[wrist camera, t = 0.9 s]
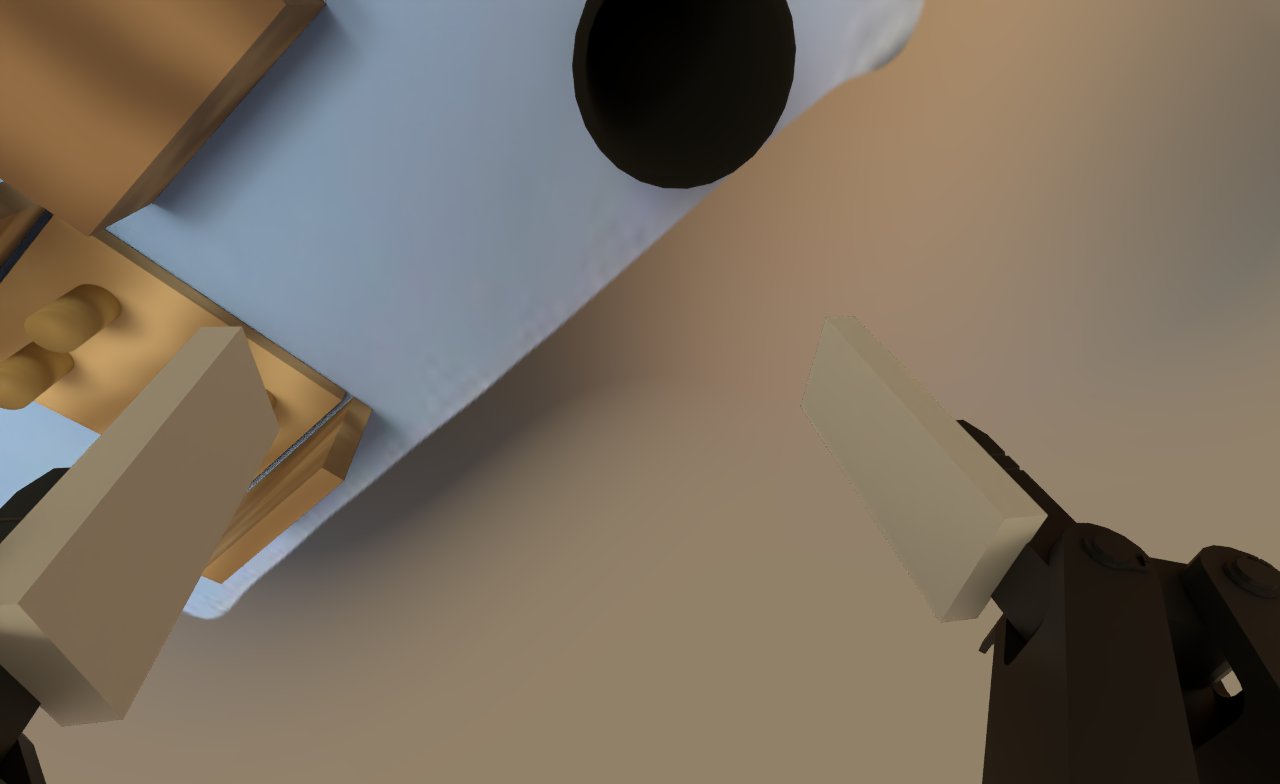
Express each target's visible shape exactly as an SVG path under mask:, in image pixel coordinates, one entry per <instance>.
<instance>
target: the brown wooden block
mask: <svg viewBox="0 0 1280 784" xmlns="http://www.w3.org/2000/svg"><path fill="white" fill-rule="evenodd" d="M325 5H326V3H325V2H324V1H323V0H0V179H2V180H3V181H5V182H6V183H8V184H9V185H11V186H12V187H14V188H15V189H17V190H18V191H20V192H21V193H23V194H24V195H25V196H27V197H28V198H30V199H31V200H33V201H34V202H36V203H37V204H39V205H40V206H42V207H43V208H45V209H46V210H48V211H49V212H51V213H52V214H54V215H55V216H57V217H58V218H60V219H61V220H63V221H64V222H66V223H67V224H69V225H70V226H72V227H73V228H75V229H76V230H78V231H79V232H81V233H82V234H84V235H85V236H87V237H89V236H91V235H93V234H95V233H97V232H99V231H100V230H102V229H104V228H106V227H108V226H110V225H112V224H114V223H115V222H117V221H119V220H121V219H123V218H125V217H127V216H129V215H130V214H132V213H134V212H136V211H138V210H140V209H142V208H144V207H146V206H147V205H149V204H151V203H153V201H154V200H155V199H156V198H157V197H158V196H159V195H160V193H161V192H162V191H163V190H164V189H165V188H166V187H167V185H168V184H169V183H170V182H171V181H172V180H173V179H174V177H175V176H176V175H177V174H178V173H179V172H180V171H181V169H182V168H183V167H184V166H185V165H186V164H187V163H188V161H189V160H190V159H191V158H192V157H193V156H194V155H195V153H196V152H197V151H198V150H199V149H200V148H201V147H202V145H203V144H204V143H205V142H206V141H207V140H208V139H209V137H210V136H211V135H212V134H213V133H214V132H215V131H216V129H217V128H218V127H219V126H220V125H221V124H222V123H223V121H224V120H225V119H226V118H227V117H228V116H229V115H230V113H231V112H232V111H233V110H234V109H235V108H236V107H237V105H238V104H239V103H240V102H241V101H242V100H243V99H244V97H245V96H246V95H247V94H248V93H249V92H250V91H251V89H252V88H253V87H254V86H255V85H256V84H257V83H258V81H259V80H260V79H261V78H262V77H263V76H264V75H265V73H266V72H267V71H268V70H269V69H270V68H271V67H272V66H273V64H274V63H275V62H276V61H277V60H278V59H279V58H280V56H281V55H282V54H283V53H284V52H285V51H286V50H287V48H288V47H289V46H290V45H291V44H292V43H293V42H294V40H295V39H296V38H297V37H298V36H299V35H300V34H301V32H302V31H303V30H304V29H305V28H306V27H307V26H308V24H309V23H310V22H311V21H312V20H313V19H314V18H315V16H316V15H317V14H318V13H319V12H320V11H321V10H322V8H323V7H324V6H325Z"/></svg>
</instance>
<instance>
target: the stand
mask: <svg viewBox="0 0 1280 784" xmlns="http://www.w3.org/2000/svg"><path fill="white" fill-rule="evenodd" d="M45 210H46V209H45V208H43V207H42V206H40V205H39V204H37V203H36V202H34V201H33V200H31V199H30V198H28V197H27V196H25V195H24V194H23V193H21V192H20V191H18V190H17V189H15V188H14V187H12V186H11V185H9V184H8V183H6V182H5V181H4V182H1V183H0V269H1V268H2V266H3V265H4V264H5V262H6V261H7V260H8V258H9V257H10V256H11V255H12V253H13V252H14V251H15V249H16V248H17V247H18V245H19V244H20V243H21V242H22V240H23V239H24V238H25V236H26V235H27V234H28V232H29V231H30V230H31V229H32V227H33V226H34V225H35V223H36V222H37V221H38V220H39V218H40V217H41V216H42V214H43V213H44V212H45ZM237 326H242V328H243V330H244V333H245V336H246V338H247V341H248V344H249V346H250V349H251V352H252V354H253V357H254V360H255V363H256V365H257V368H258V371H259V373H260V376H261V379H262V381H263V384H264V387H265V389H266V392H267V395H268V397H269V400H270V403H271V405H272V408H273V411H274V413H275V416H276V419H277V421H278V424H279V427H280V431H279V433H278V435H277V436H276V438H275V440H274V442H273V444H272V446H271V448H270V449H269V451H268V453H267V455H266V457H265V459H264V460H263V462H262V464H261V466H260V468H259V470H258V472H257V473H256V475H255V477H254V479H255V478H256V477H257V476H258V475H259V474H261V473H262V472H263V471H264V470H265V469H266V468H267V467H268V466H269V465H271V464H272V463H273V462H274V461H275V460H276V459H277V458H278V457H279V456H281V455H282V454H283V453H284V452H285V451H286V450H287V449H288V448H289V447H291V446H292V445H293V444H294V443H295V442H296V441H297V440H298V439H299V438H301V437H302V436H303V435H304V434H305V433H306V432H307V431H308V430H309V429H311V428H312V427H313V426H314V425H315V424H316V423H317V422H318V421H319V420H321V419H322V418H323V417H324V416H325V415H326V414H327V413H328V412H329V411H331V410H332V409H333V408H334V407H335V406H336V405H337V404H338V403H340V402H341V401H342V399H343V397H344V395H345V393H346V391H344V390H343V389H341V388H340V387H338V386H337V385H335V384H334V383H332V382H331V381H329V380H328V379H326V378H325V377H323V376H322V375H320V374H319V373H317V372H316V371H314V370H313V369H312V368H310V367H309V366H307V365H306V364H304V363H303V362H301V361H300V360H298V359H297V358H295V357H294V356H292V355H291V354H289V353H288V352H286V351H285V350H283V349H282V348H280V347H279V346H277V345H276V344H274V343H273V342H271V341H270V340H268V339H267V338H265V337H264V336H262V335H261V334H259V333H258V332H256V331H255V330H254V329H252V328H251V327H249V326H248V325H246V324H245V323H243V322H242V321H240V320H239V319H237V318H236V317H234V316H233V315H231V314H230V313H228V312H227V311H225V310H224V309H222V308H221V307H219V306H218V305H216V304H215V303H213V302H212V301H210V300H209V299H207V298H206V297H204V296H203V295H201V294H200V293H199V292H197V291H196V290H194V289H193V288H191V287H190V286H188V285H187V284H185V283H184V282H182V281H181V280H179V279H178V278H176V277H175V276H173V275H172V274H170V273H169V272H167V271H166V270H164V269H163V268H161V267H160V266H158V265H157V264H155V263H154V262H152V261H151V260H149V259H148V258H146V257H145V256H144V255H142V254H141V253H139V252H138V251H136V250H135V249H133V248H132V247H130V246H129V245H127V244H126V243H124V242H123V241H121V240H120V239H118V238H117V237H115V236H114V235H112V234H111V233H109V232H108V231H106V230H105V229H102V230H100V231H99V232H97V233H95V234H93V235H91V236H89V237H87V236H85V235H84V234H82V233H81V232H79V231H78V230H76V229H75V228H73V227H72V226H70V225H69V224H67V223H66V222H64V221H63V220H61V219H60V218H58V217H57V216H55V215H53V216H52V218H51V219H50V220H49V222H48V223H47V224H46V225H45V227H44V228H43V229H42V231H41V232H40V233H39V234H38V236H37V237H36V238H35V240H34V241H33V242H32V243H31V245H30V246H29V247H28V249H27V250H26V251H25V252H24V254H23V255H22V256H21V258H20V259H19V260H18V261H17V263H16V264H15V265H14V267H13V268H12V269H11V270H10V272H9V273H8V274H7V276H6V277H5V278H4V279H3V281H2V282H1V283H0V408H4V409H10V410H17V409H22V408H24V407H26V406H27V405H28V404H30V403H31V402H32V401H35V402H37V403H39V404H41V405H43V406H45V407H47V408H49V409H51V410H53V411H55V412H57V413H59V414H61V415H63V416H65V417H67V418H69V419H71V420H73V421H75V422H77V423H79V424H81V425H83V426H85V427H87V428H89V429H91V430H93V431H95V432H97V433H99V434H101V435H102V433H103V432H104V431H105V430H106V429H107V428H108V427H109V426H110V425H111V424H112V423H113V422H114V421H115V419H116V418H117V417H118V416H119V415H120V414H121V413H122V412H123V411H124V410H125V409H126V408H127V407H128V405H129V404H130V403H131V402H132V401H133V400H134V399H135V398H136V397H137V396H138V395H139V394H140V392H141V391H142V390H143V389H144V388H145V387H146V386H147V385H148V384H149V383H150V382H151V381H152V380H153V378H154V377H155V376H156V375H157V374H158V373H159V372H160V371H161V370H162V369H163V368H164V367H165V366H166V364H167V363H168V362H169V361H170V360H171V359H172V358H173V357H174V356H175V355H176V354H177V353H178V351H179V350H180V349H181V348H182V347H183V346H184V345H185V344H186V343H187V342H188V341H189V340H190V339H191V337H192V336H193V335H194V334H195V333H196V332H197V331H198V330H199V329H200V328H201V327H237ZM371 411H372V409H371V408H369V407H368V406H367V405H365V404H364V403H362V402H361V401H359V400H358V399H356V398H355V397H354V398H352V399H351V400H350V401H349V402H348V403H347V404H346V405H345V406H343V407H342V408H341V409H340V410H339V411H338V412H337V413H336V414H335V415H333V416H332V417H331V418H330V419H329V420H328V421H327V422H326V423H324V424H323V425H322V426H321V427H320V428H319V429H318V430H317V431H316V432H314V433H313V434H312V435H311V436H310V437H309V438H308V439H307V440H305V441H304V442H303V443H302V444H301V445H300V446H299V447H298V448H296V449H295V450H294V451H293V452H292V453H291V454H290V455H289V456H288V457H286V458H285V459H284V460H283V461H282V462H281V463H280V464H279V465H277V466H276V467H275V468H274V469H273V470H272V471H271V472H270V473H269V474H267V475H266V476H265V477H264V478H263V479H262V480H261V481H260V482H258V483H257V484H256V485H255V486H254V487H253V488H252V489H251V490H249V491H248V492H247V493H246V494H245V496H244V497H243V499H242V501H241V503H240V505H239V507H238V508H237V510H236V512H235V514H234V516H233V518H232V520H231V521H230V523H229V525H228V527H227V529H226V531H225V532H224V534H223V536H222V538H221V540H220V542H219V544H218V545H217V547H216V549H215V551H214V553H213V555H212V556H211V558H210V560H209V562H208V564H207V566H206V568H205V569H204V571H203V573H202V575H201V576H203V577H206V578H208V579H210V580H213V581H215V582H218V583H220V584H222V583H223V582H224V581H225V580H227V579H228V578H229V577H230V576H231V575H232V574H234V573H235V572H236V571H237V570H238V569H240V568H241V567H242V566H243V565H244V564H246V563H247V562H248V561H249V560H250V559H251V558H253V557H254V556H255V555H256V554H257V553H259V552H260V551H261V550H262V549H263V548H265V547H266V546H267V545H268V544H269V543H270V542H272V541H273V540H274V539H275V538H276V537H278V536H279V535H280V534H281V533H282V532H284V531H285V530H286V529H287V528H288V527H289V526H291V525H292V524H293V523H294V522H295V521H297V520H298V519H299V518H300V517H301V516H303V515H304V514H305V513H306V512H307V511H308V510H310V509H311V508H312V507H313V506H314V505H316V504H317V503H318V502H319V501H320V500H322V499H323V498H324V497H325V496H326V495H327V494H329V493H330V492H331V491H332V490H333V489H335V488H336V487H337V486H338V485H339V484H341V483H342V482H343V481H344V479H345V477H346V474H347V472H348V469H349V467H350V464H351V462H352V459H353V457H354V454H355V452H356V449H357V447H358V444H359V441H360V439H361V436H362V434H363V431H364V429H365V426H366V424H367V421H368V419H369V416H370V414H371ZM254 479H253V480H254Z"/></svg>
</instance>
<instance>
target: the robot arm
mask: <svg viewBox="0 0 1280 784" xmlns="http://www.w3.org/2000/svg"><path fill="white" fill-rule="evenodd" d="M801 408H802V409H803V411H804V412H805V414H806V415H807V417H808V418H809V420H810V422H811V423H812V425H813V426H814V428H815V429H816V431H817V432H818V434H819V436H820V437H821V439H822V440H823V442H824V443H825V445H826V447H827V448H828V450H829V451H830V452H831V454H832V456H833V457H834V459H835V460H836V462H837V464H838V465H839V467H840V468H841V470H842V471H843V473H844V474H845V476H846V478H847V479H848V481H849V482H850V484H851V485H852V487H853V488H854V490H855V492H856V493H857V495H858V496H859V498H860V499H861V501H862V502H863V504H864V505H865V507H866V509H867V510H868V512H869V513H870V515H871V516H872V518H873V519H874V521H875V523H876V524H877V526H878V527H879V529H880V530H881V532H882V533H883V535H884V537H885V538H886V540H887V541H888V543H889V544H890V546H891V547H892V549H893V550H894V552H895V554H896V555H897V557H898V558H899V560H900V561H901V563H902V564H903V566H904V568H905V569H906V571H907V572H908V574H909V575H910V577H911V578H912V580H913V582H914V583H915V585H916V586H917V588H918V589H919V591H920V592H921V594H922V595H923V597H924V599H925V600H926V601H927V603H928V605H929V606H930V608H931V609H932V611H933V613H934V614H935V616H936V617H937V619H938V620H939V622H940V623H942V622H950V621H958V620H967V619H976V618H978V616H979V615H980V613H981V612H982V610H983V609H984V608H985V606H986V605H987V603H988V602H989V600H990V599H991V597H992V599H993V600H994V601H995V602H996V604H997V605H998V607H999V608H1000V609H1001V611H1002V612H1003V614H1002V616H1001V617H1000V619H999V620H998V621H997V623H996V624H995V626H994V627H993V628H992V630H991V631H990V633H989V634H988V635H987V637H986V638H985V639H984V641H983V642H982V644H981V646H980V649H979V651H980V652H982V653H984V654H985V653H986V652H987V651H988V649H989V648H990V647H991V645H993V644H994V655H993V665H992V678H991V689H990V700H989V711H988V724H987V734H986V747H985V757H984V768H983V781H982V784H1280V571H1278V570H1277V569H1275V568H1274V567H1273V566H1272V565H1270V564H1269V563H1267V562H1266V561H1264V560H1262V559H1258V557H1255V556H1253V555H1251V554H1248V553H1245V552H1242V551H1239V550H1236V549H1234V548H1230V547H1224V546H1215V545H1213V546H1209V547H1206V548H1203V549H1202V550H1201V551H1200V552H1199V553H1198V554H1197V555H1196V556H1195V557H1194V558H1193V559H1192V560H1191V561H1190V562H1189V563H1188V564H1183V563H1178V562H1173V561H1167V560H1162V559H1156V558H1151V557H1149V556H1148V555H1147V554H1146V553H1145V552H1144V551H1143V550H1142V549H1141V548H1140V547H1139V546H1137V545H1136V544H1134V543H1133V542H1132V541H1130V540H1129V539H1127V538H1126V537H1125V536H1122V535H1121V534H1119V533H1116V532H1114V531H1112V530H1110V529H1108V528H1105V527H1102V526H1098V525H1094V524H1091V523H1076V522H1075V521H1074V520H1073V519H1072V518H1071V517H1070V516H1069V515H1068V514H1067V513H1066V512H1065V511H1064V510H1063V509H1062V508H1061V507H1060V506H1059V505H1058V504H1057V503H1056V502H1055V501H1054V500H1053V499H1052V498H1051V497H1050V496H1049V495H1048V494H1047V493H1046V492H1045V491H1044V490H1043V489H1042V488H1041V487H1040V486H1039V485H1038V484H1037V483H1036V482H1035V481H1034V480H1033V479H1031V478H1030V476H1029V475H1028V474H1027V473H1026V472H1025V471H1023V470H1020V469H1019V465H1017V464H1016V463H1015V462H1014V461H1013V460H1012V459H1011V458H1010V457H1009V456H1005V452H1004V451H1003V450H1002V449H1001V448H1000V447H999V446H998V445H997V444H996V443H995V442H994V441H993V440H992V439H991V438H990V437H989V436H988V435H987V434H985V433H984V432H982V431H981V430H979V429H977V428H976V427H974V426H972V425H971V424H969V423H968V422H966V421H964V420H955V419H954V418H953V417H952V416H951V415H950V414H949V413H948V412H947V411H946V410H945V409H944V408H943V407H942V406H941V405H940V404H939V403H938V402H937V401H936V400H935V399H934V398H933V397H932V396H931V395H930V394H929V393H928V392H927V391H926V389H925V388H923V386H922V385H921V384H920V383H919V382H918V381H917V380H916V379H915V378H914V377H913V376H912V375H911V374H910V373H909V372H908V371H907V370H906V369H905V368H904V367H903V366H902V365H901V364H900V363H899V362H898V361H897V360H896V359H895V358H894V357H893V356H892V355H891V354H890V353H889V351H887V349H885V348H884V346H883V345H882V344H881V343H880V342H879V341H878V340H877V339H876V338H875V337H874V336H873V335H872V334H871V333H870V332H869V331H868V330H867V329H866V328H865V327H864V326H863V325H862V324H861V323H860V322H859V321H858V320H857V319H856V318H855V317H826V319H825V322H824V326H823V330H822V333H821V336H820V340H819V343H818V347H817V351H816V354H815V357H814V361H813V364H812V368H811V371H810V375H809V378H808V382H807V385H806V389H805V392H804V396H803V399H802V403H801ZM279 431H280V427H279V424H278V421H277V419H276V416H275V413H274V411H273V408H272V405H271V403H270V400H269V397H268V395H267V392H266V389H265V387H264V384H263V381H262V379H261V376H260V373H259V371H258V368H257V365H256V363H255V360H254V357H253V354H252V352H251V349H250V346H249V344H248V341H247V338H246V336H245V333H244V330H243V328H242V326H237V327H201V328H200V329H199V330H198V331H197V332H196V333H195V334H194V335H193V336H192V337H191V339H190V340H189V341H188V342H187V343H186V344H185V345H184V346H183V347H182V348H181V349H180V350H179V351H178V353H177V354H176V355H175V356H174V357H173V358H172V359H171V360H170V361H169V362H168V363H167V364H166V366H165V367H164V368H163V369H162V370H161V371H160V372H159V373H158V374H157V375H156V376H155V377H154V378H153V380H152V381H151V382H150V383H149V384H148V385H147V386H146V387H145V388H144V389H143V390H142V391H141V392H140V394H139V395H138V396H137V397H136V398H135V399H134V400H133V401H132V402H131V403H130V404H129V405H128V407H127V408H126V409H125V410H124V411H123V412H122V413H121V414H120V415H119V416H118V417H117V418H116V419H115V421H114V422H113V423H112V424H111V425H110V426H109V427H108V428H107V429H106V430H105V431H104V432H103V433H102V435H101V436H100V437H99V438H98V439H97V440H96V441H95V442H94V443H93V444H92V445H91V446H90V447H89V449H88V450H87V451H86V452H85V453H84V454H83V455H82V456H81V457H80V458H79V459H78V460H77V462H76V463H75V464H74V465H73V466H72V467H71V468H54V469H52V470H51V471H49V472H48V473H46V474H44V475H43V476H41V477H40V478H38V479H36V480H35V481H33V482H32V483H30V484H29V485H27V486H25V487H24V488H22V489H21V490H19V491H17V492H16V493H15V494H14V495H13V496H12V497H11V498H10V499H9V500H8V501H7V502H6V503H5V504H4V505H3V506H2V508H1V509H0V784H46V782H45V779H44V776H43V773H42V769H41V767H40V763H39V760H38V757H37V754H36V751H35V748H34V745H33V744H32V742H31V741H30V740H29V739H28V738H27V737H26V736H25V735H24V734H23V733H22V732H23V730H24V729H25V727H26V726H27V724H28V723H29V721H30V719H31V718H32V717H33V715H34V714H35V712H36V710H37V709H38V708H39V706H40V707H41V708H43V709H44V710H45V711H46V712H47V713H48V714H49V715H50V716H51V717H52V718H53V719H54V720H55V721H56V722H57V723H58V724H59V725H61V726H62V727H63V726H71V725H80V724H88V723H97V722H105V721H113V720H122V719H124V717H125V715H126V714H127V712H128V710H129V708H130V706H131V704H132V702H133V701H134V699H135V697H136V695H137V693H138V691H139V689H140V688H141V686H142V684H143V682H144V680H145V678H146V677H147V674H148V673H149V671H150V669H151V667H152V665H153V664H154V662H155V660H156V658H157V656H158V654H159V652H160V651H161V649H162V647H163V645H164V643H165V641H166V640H167V638H168V636H169V634H170V632H171V630H172V628H173V627H174V625H175V623H176V621H177V619H178V617H179V615H180V614H181V612H182V610H183V608H184V606H185V605H186V603H187V601H188V599H189V597H190V595H191V593H192V592H193V590H194V588H195V586H196V584H197V582H198V581H199V579H200V577H201V575H202V573H203V571H204V569H205V568H206V566H207V564H208V562H209V560H210V558H211V556H212V555H213V553H214V551H215V549H216V547H217V545H218V544H219V542H220V540H221V538H222V536H223V534H224V532H225V531H226V529H227V527H228V525H229V523H230V521H231V520H232V518H233V516H234V514H235V512H236V510H237V508H238V507H239V505H240V503H241V501H242V499H243V497H244V496H245V494H246V492H247V490H248V488H249V486H250V484H251V483H252V481H253V479H254V477H255V475H256V473H257V472H258V470H259V468H260V466H261V464H262V462H263V460H264V459H265V457H266V455H267V453H268V451H269V449H270V448H271V446H272V444H273V442H274V440H275V438H276V436H277V435H278V433H279ZM1232 670H1233V672H1234V673H1235V675H1236V676H1237V679H1238V680H1239V682H1240V684H1241V687H1242V689H1243V690H1242V691H1240V692H1239V693H1238V694H1237V695H1235V696H1232V697H1231V696H1230V694H1229V693H1228V692H1227V690H1226V689H1225V687H1224V685H1223V683H1222V681H1221V679H1222V678H1224V677H1225V676H1226V675H1227V674H1229V673H1230V672H1231V671H1232Z"/></svg>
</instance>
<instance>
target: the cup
mask: <svg viewBox="0 0 1280 784" xmlns="http://www.w3.org/2000/svg"><path fill="white" fill-rule="evenodd" d="M795 53H796V45H795V37H794V28H793V20H792V16H791V13H790V10H789V7H788V4H787V1H786V0H587V1H586V4H585V7H584V10H583V13H582V16H581V19H580V22H579V25H578V28H577V31H576V35H575V44H574V54H573V63H572V69H573V78H574V88H575V97H576V100H577V103H578V106H579V109H580V112H581V115H582V118H583V121H584V124H585V127H586V128H587V130H588V131H589V133H590V135H591V136H592V138H593V140H594V141H595V143H596V145H597V146H598V148H599V150H600V151H601V152H602V153H603V154H604V155H605V156H606V157H607V158H608V159H609V160H610V161H611V162H612V163H613V164H614V165H615V166H616V167H617V168H618V169H620V170H622V171H623V172H625V173H627V174H629V175H630V176H632V177H634V178H635V179H637V180H639V181H641V182H644V183H648V184H651V185H654V186H658V187H661V188H682V189H688V188H692V187H697V186H701V185H705V184H710V183H712V182H714V181H716V180H718V179H721V178H723V177H725V176H727V175H729V174H731V173H733V172H734V171H735V170H737V169H738V168H739V167H740V166H742V165H743V164H744V163H745V162H747V161H748V160H749V159H750V158H751V157H753V156H754V155H755V154H756V152H757V151H758V150H759V149H760V147H761V146H762V145H763V144H764V142H765V141H766V140H767V139H768V138H769V136H770V135H771V134H772V132H773V130H774V128H775V126H776V124H777V122H778V120H779V118H780V116H781V115H782V113H783V111H784V109H785V106H786V102H787V99H788V96H789V92H790V89H791V85H792V82H793V76H794V65H795Z"/></svg>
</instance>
